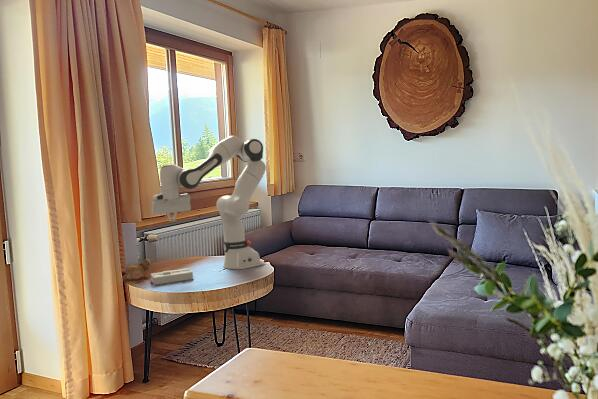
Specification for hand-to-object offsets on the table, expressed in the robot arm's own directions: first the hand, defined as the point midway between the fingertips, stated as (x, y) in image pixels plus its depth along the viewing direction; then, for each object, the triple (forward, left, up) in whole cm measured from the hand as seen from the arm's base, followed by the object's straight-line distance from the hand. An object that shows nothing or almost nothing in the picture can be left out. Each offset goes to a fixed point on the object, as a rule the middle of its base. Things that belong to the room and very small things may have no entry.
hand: (172, 221), depth 270 cm
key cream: (+12, +14, -27) cm, 33 cm away
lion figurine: (+19, -5, -29) cm, 35 cm away
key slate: (-2, +14, -27) cm, 31 cm away
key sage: (+7, +14, -26) cm, 31 cm away
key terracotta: (+3, +14, -27) cm, 31 cm away
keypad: (+5, +14, -28) cm, 32 cm away
